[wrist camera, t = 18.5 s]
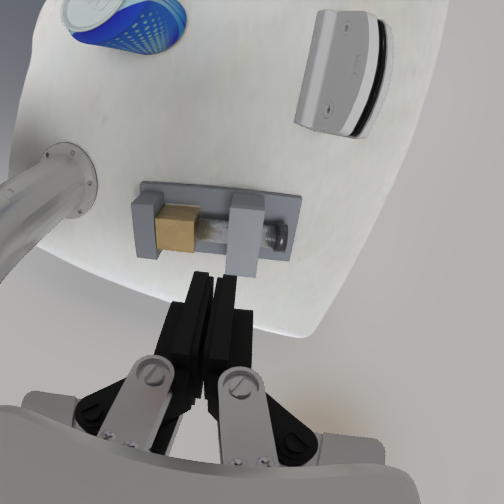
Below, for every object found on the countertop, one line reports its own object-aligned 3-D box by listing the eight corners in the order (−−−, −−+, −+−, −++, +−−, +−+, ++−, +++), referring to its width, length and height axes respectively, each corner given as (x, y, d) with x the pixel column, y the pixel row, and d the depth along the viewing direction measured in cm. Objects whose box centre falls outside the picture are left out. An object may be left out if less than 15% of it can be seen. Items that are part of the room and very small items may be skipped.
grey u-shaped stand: (147, 242, 42) (133, 264, 37) (142, 181, 36) (125, 197, 31) (288, 257, 42) (292, 282, 37) (301, 196, 37) (307, 214, 32)
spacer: (166, 232, 39) (157, 249, 36) (165, 204, 37) (154, 218, 33) (199, 235, 40) (193, 253, 36) (200, 206, 37) (193, 221, 33)
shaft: (201, 234, 39) (196, 249, 36) (202, 210, 37) (196, 223, 34) (282, 243, 40) (283, 258, 36) (286, 219, 38) (289, 232, 34)
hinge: (318, 8, 23) (371, -3, 15) (348, 22, 25) (403, 17, 17) (293, 125, 32) (338, 145, 24) (324, 131, 34) (373, 154, 26)
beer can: (132, 64, 27) (56, 59, 14) (124, 13, 23) (51, -12, 9) (193, 44, 26) (145, 14, 13) (184, -8, 22) (136, -58, 8)
